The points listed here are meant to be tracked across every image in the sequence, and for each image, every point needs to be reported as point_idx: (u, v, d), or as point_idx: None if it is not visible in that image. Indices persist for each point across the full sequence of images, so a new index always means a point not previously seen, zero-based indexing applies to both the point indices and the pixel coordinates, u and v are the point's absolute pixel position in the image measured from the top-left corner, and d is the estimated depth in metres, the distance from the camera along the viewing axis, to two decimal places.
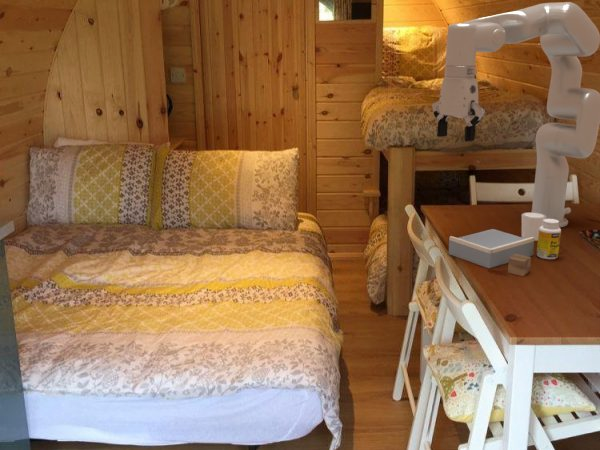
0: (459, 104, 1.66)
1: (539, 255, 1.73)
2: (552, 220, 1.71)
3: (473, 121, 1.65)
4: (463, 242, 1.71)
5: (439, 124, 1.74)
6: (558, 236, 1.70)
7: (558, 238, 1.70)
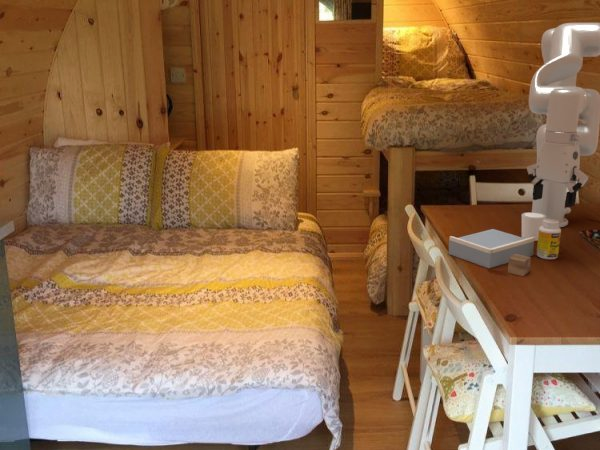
0: (560, 170, 1.63)
1: (539, 255, 1.73)
2: (552, 220, 1.71)
3: (575, 187, 1.62)
4: (463, 242, 1.71)
5: (535, 187, 1.71)
6: (558, 236, 1.70)
7: (558, 238, 1.70)
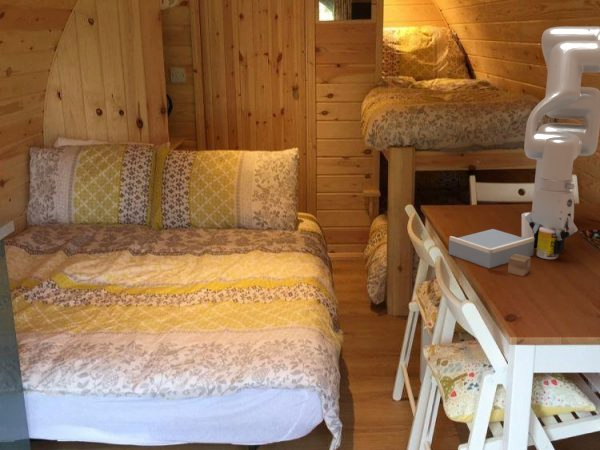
0: (555, 216, 1.67)
1: (539, 255, 1.73)
2: None
3: (563, 236, 1.68)
4: (463, 242, 1.71)
5: (536, 236, 1.74)
6: None
7: None
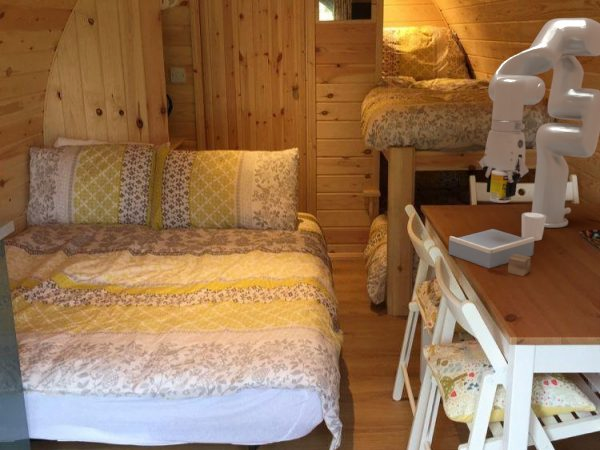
0: (506, 158, 1.66)
1: (492, 198, 1.71)
2: None
3: (515, 178, 1.67)
4: (463, 242, 1.71)
5: (489, 180, 1.73)
6: None
7: None
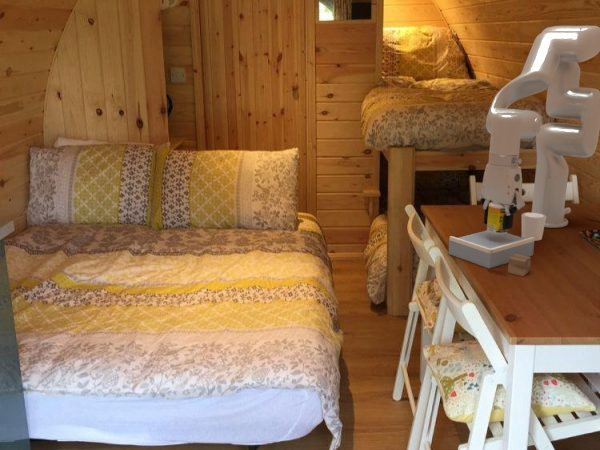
0: (503, 191, 1.68)
1: (489, 230, 1.74)
2: None
3: (511, 211, 1.69)
4: (463, 242, 1.71)
5: (486, 212, 1.75)
6: None
7: None
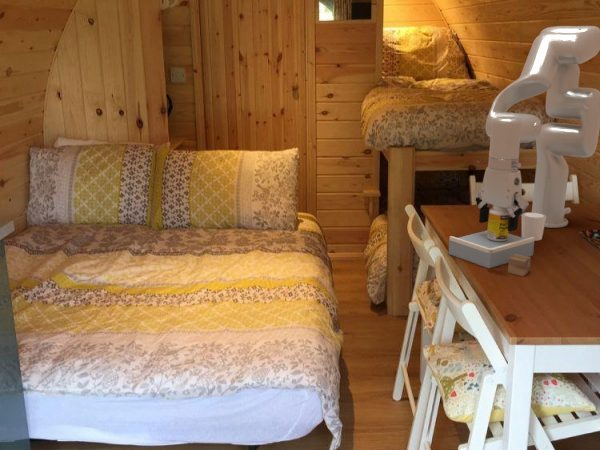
0: (503, 195, 1.69)
1: (489, 237, 1.75)
2: None
3: (517, 213, 1.68)
4: (463, 242, 1.71)
5: (481, 211, 1.77)
6: (507, 218, 1.72)
7: (507, 220, 1.72)
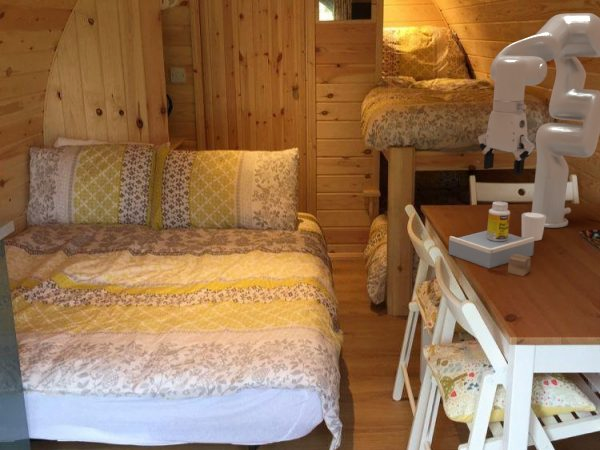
0: (508, 138, 1.66)
1: (489, 237, 1.75)
2: (501, 202, 1.73)
3: (522, 155, 1.65)
4: (463, 242, 1.71)
5: (486, 157, 1.74)
6: (506, 218, 1.72)
7: (507, 220, 1.72)
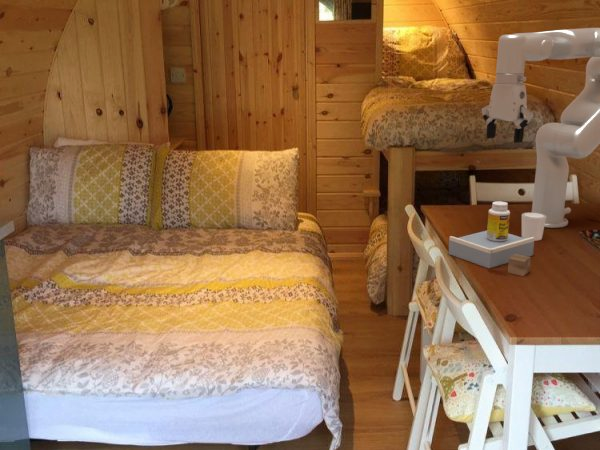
0: (509, 108, 1.80)
1: (489, 237, 1.75)
2: (501, 202, 1.73)
3: (522, 124, 1.79)
4: (463, 242, 1.71)
5: (488, 127, 1.88)
6: (506, 218, 1.72)
7: (507, 220, 1.72)
